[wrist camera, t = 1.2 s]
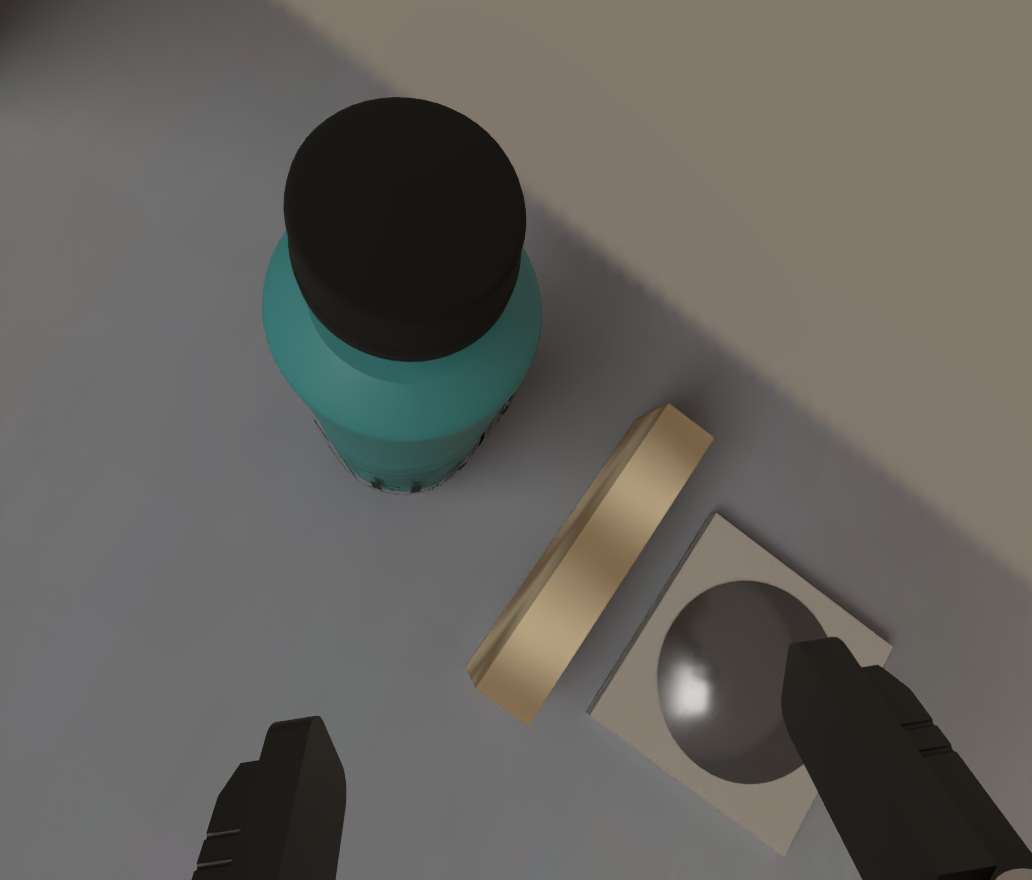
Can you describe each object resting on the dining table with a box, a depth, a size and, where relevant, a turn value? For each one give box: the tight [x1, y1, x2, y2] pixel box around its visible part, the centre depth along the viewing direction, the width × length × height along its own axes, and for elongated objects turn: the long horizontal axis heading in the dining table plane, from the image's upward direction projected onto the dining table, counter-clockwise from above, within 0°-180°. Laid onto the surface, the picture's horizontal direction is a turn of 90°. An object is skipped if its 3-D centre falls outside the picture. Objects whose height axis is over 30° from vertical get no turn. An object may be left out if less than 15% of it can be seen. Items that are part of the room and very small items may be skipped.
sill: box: [465, 403, 714, 726], centre depth 28 cm, size 14×2×4 cm, turn 144°
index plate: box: [586, 513, 893, 857], centre depth 30 cm, size 11×11×1 cm
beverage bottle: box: [262, 97, 541, 495], centre depth 20 cm, size 6×7×20 cm
